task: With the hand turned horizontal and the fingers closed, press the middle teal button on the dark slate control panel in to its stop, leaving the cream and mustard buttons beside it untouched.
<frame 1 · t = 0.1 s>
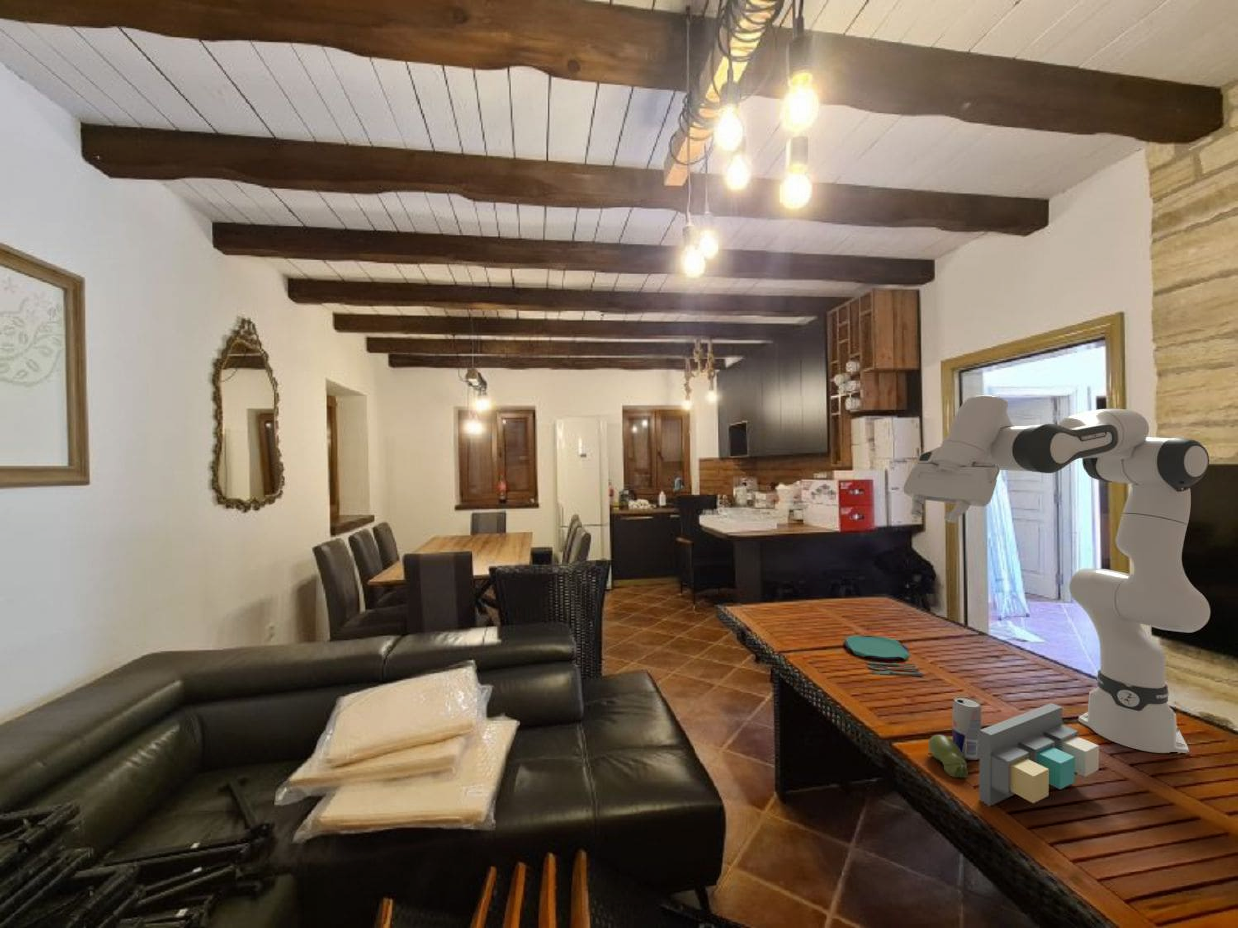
hand: (931, 518, 111), 54 cm above the table, tool tilted 30°, fingers open, 8 cm apart
control panel: (1021, 785, 106), on the table
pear: (948, 767, 112), on the table
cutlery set: (880, 658, 172), on the table
button mustard: (1027, 778, 97), point 7 cm above the table, slide at 0.0 cm
button teal: (1053, 766, 101), point 7 cm above the table, slide at 0.0 cm
button cream: (1078, 754, 104), point 7 cm above the table, slide at 0.0 cm
energy drink: (966, 754, 117), on the table
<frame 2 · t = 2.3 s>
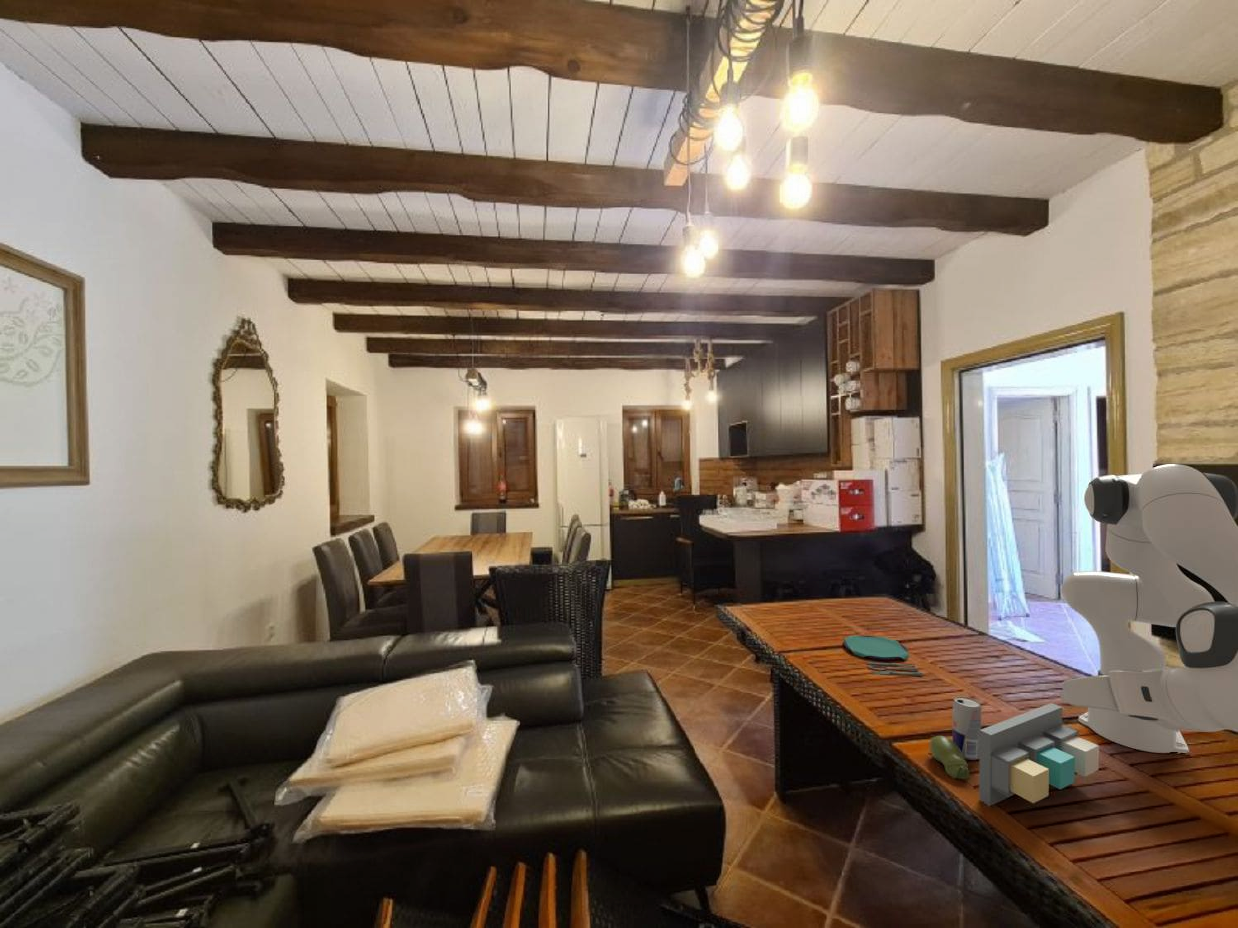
hand: (1088, 700, 92), 24 cm above the table, tool tilted 65°, fingers open, 8 cm apart
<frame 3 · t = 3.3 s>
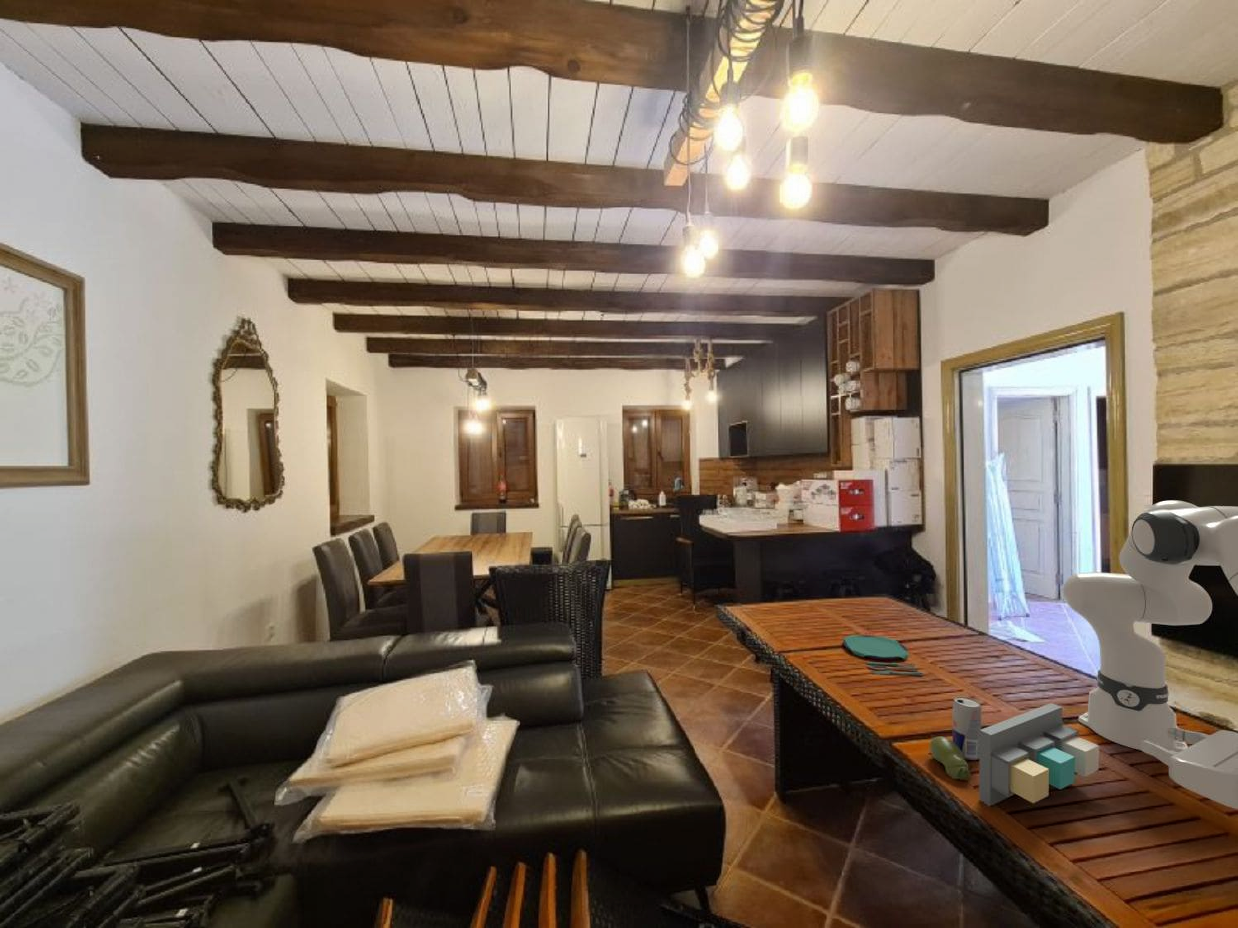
hand: (1156, 737, 87), 20 cm above the table, tool horizontal, fingers open, 8 cm apart
nothing on the table moved.
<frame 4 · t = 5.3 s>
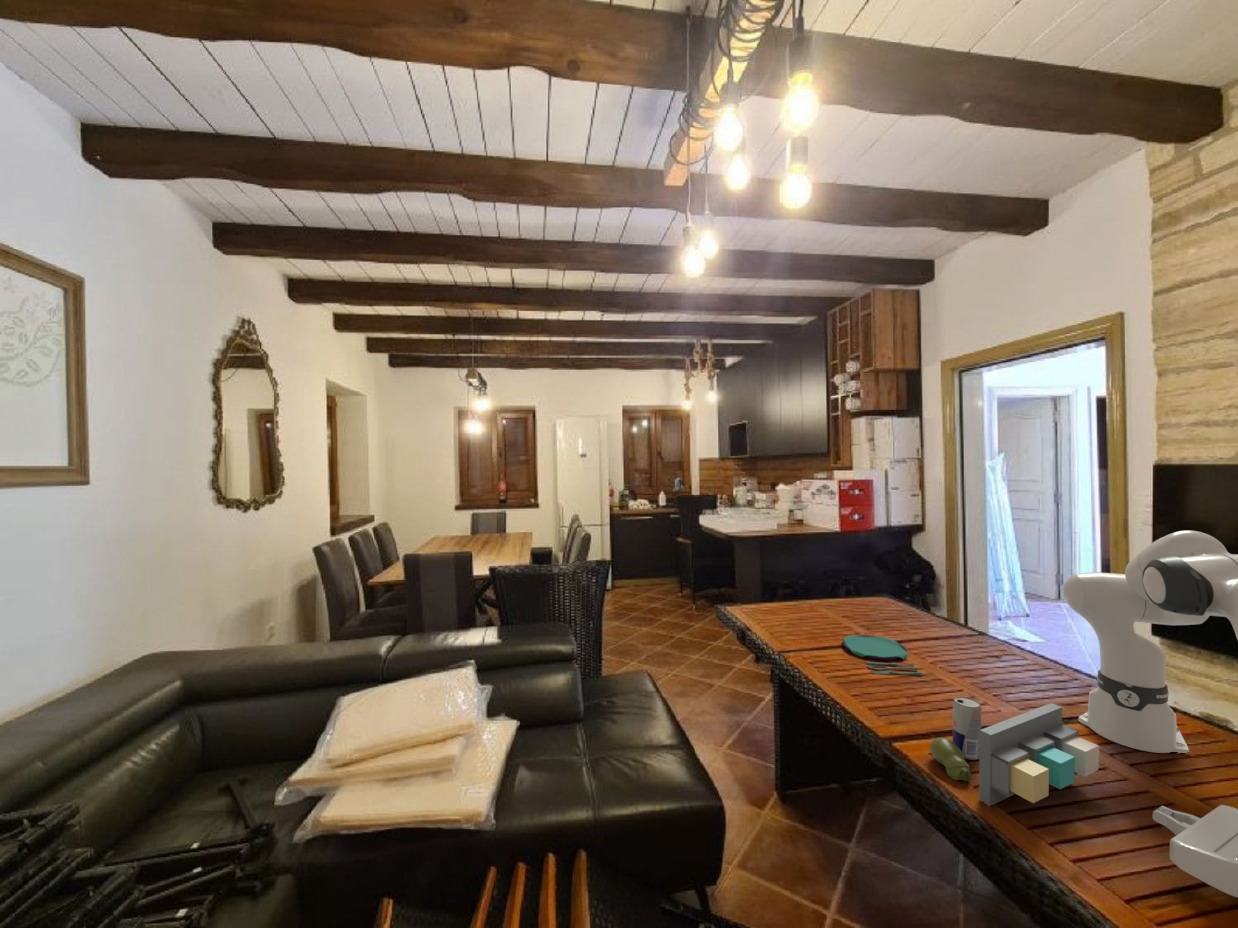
hand: (1156, 812, 87), 7 cm above the table, tool horizontal, fingers closed
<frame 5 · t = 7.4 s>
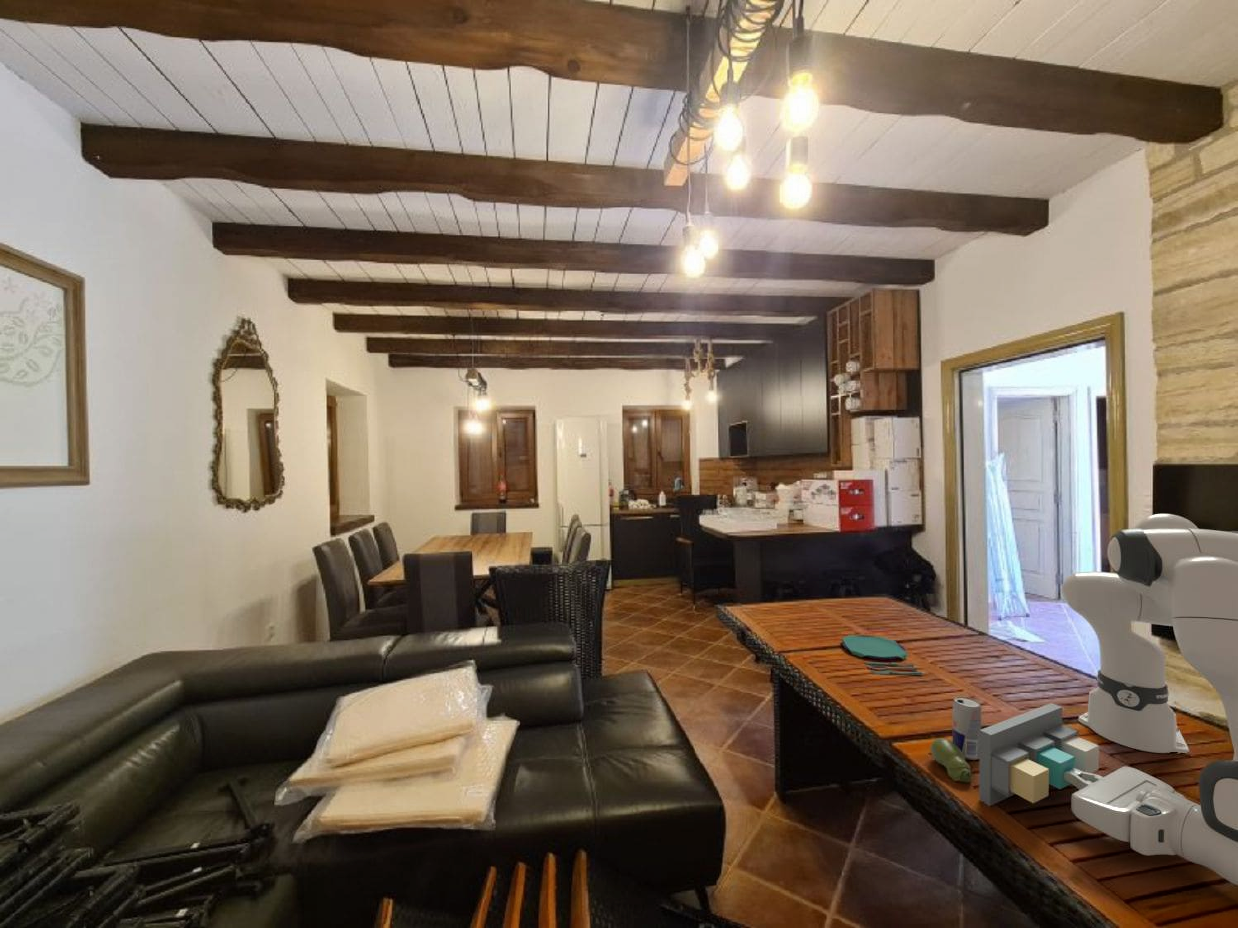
hand: (1067, 773, 99), 7 cm above the table, tool horizontal, fingers closed, pressing on button teal
button teal: (1053, 766, 101), point 7 cm above the table, slide at 0.0 cm, touching gripper
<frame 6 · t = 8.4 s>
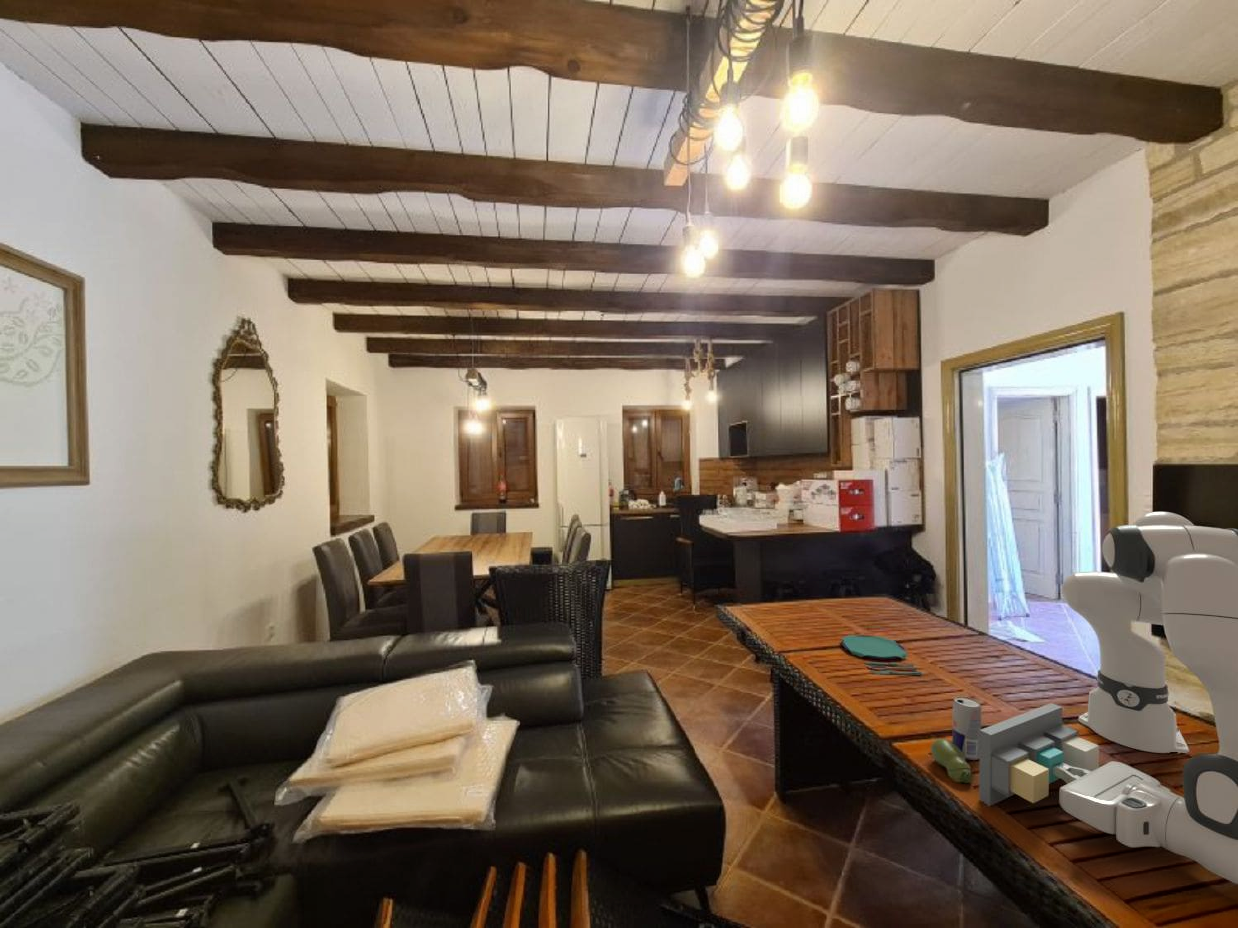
hand: (1056, 767, 100), 7 cm above the table, tool horizontal, fingers closed, pressing on button teal
button teal: (1042, 761, 102), point 7 cm above the table, slide at 1.8 cm, touching gripper
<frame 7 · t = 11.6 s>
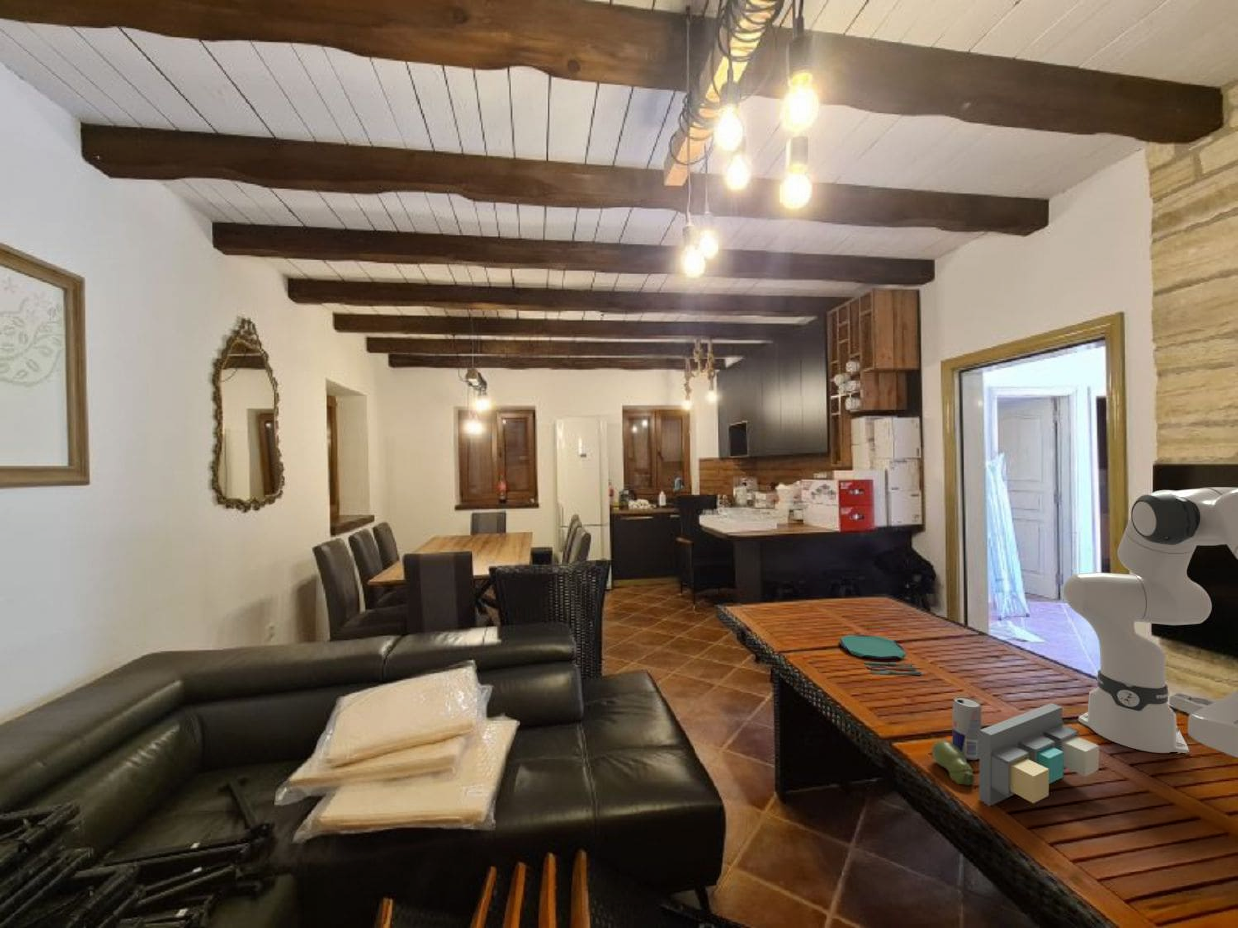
hand: (1173, 698, 86), 27 cm above the table, tool horizontal, fingers closed
button teal: (1042, 761, 102), point 7 cm above the table, slide at 1.8 cm
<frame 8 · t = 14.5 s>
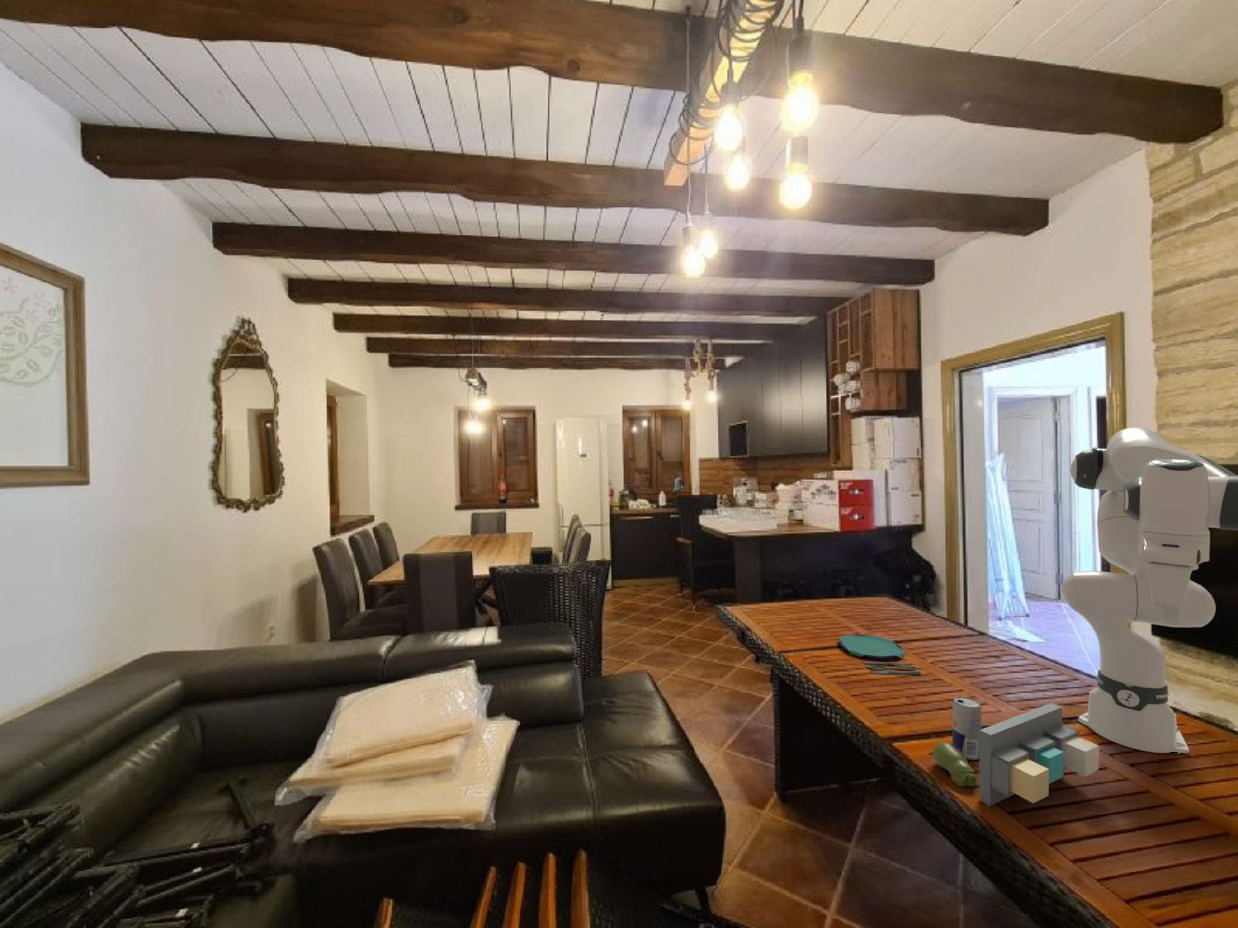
hand: (1171, 622, 95), 37 cm above the table, tool pointing down, fingers closed
at the end: button teal slide at 1.8 cm; button cream slide at 0.0 cm; button mustard slide at 0.0 cm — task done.
